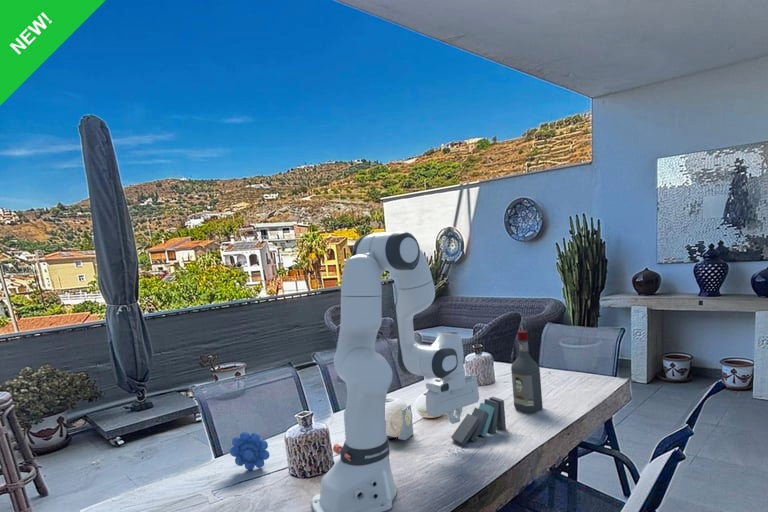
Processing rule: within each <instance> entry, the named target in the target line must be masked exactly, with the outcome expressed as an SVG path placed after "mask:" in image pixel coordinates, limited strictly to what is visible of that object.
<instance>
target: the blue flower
mask: <svg viewBox="0 0 768 512" xmlns="http://www.w3.org/2000/svg"><path fill="white" fill-rule="evenodd" d="M231 444H232V447H231V448H230V450H229V452H230V456H231V457H233V458H235V459H234V463H235V465H236V466H239V467H243V466H244V468H245V469H246V470H248V471H252V470H253V469H255V468H259V469H261V468H263V467H264V466H265V460H269V458H270V452H269V451H268V450H267V449H268V447H269V444H268V441H266V440H264V439H261V436H260V434H259V433H257V432H253V433H252V434H250V433H249V432H248V431H242V432H241V433H240V434H239V437H238V436H236V437H233V438H232V440H231Z"/></svg>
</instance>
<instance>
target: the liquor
mask: <svg viewBox="0 0 768 512" xmlns="http://www.w3.org/2000/svg"><path fill="white" fill-rule="evenodd" d="M528 334H529V333H528V331H527V330H518V331H517V341H518V357H517V358H516V359H515V360H514V361H513V362H512V363H511V366H510V369H511V382H512V396H513V406H514V408H515V410H516V411H517V412H521V413H525V414H536V413H537V412H540V411H542V409H543V407H544V406H543V394H542V384H541V383H542V381H541V380H542V379H541V370H540V369H541V368H540V366H539V364H538V363H537V362H536V361H535V360H534V359H533V358H532V357H531V355H530V353H529V352H530V351H529V341H528V340H529V337H528V336H529V335H528Z"/></svg>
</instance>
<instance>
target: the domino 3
mask: <svg viewBox="0 0 768 512" xmlns="http://www.w3.org/2000/svg"><path fill="white" fill-rule="evenodd" d="M478 409H481V410H483V411H486V412H487V413H488V414H489V415H488V417H487V419H486V421H485V423H484V425H483V427H482V429H481V431H480V433H479V435H480V436H482V437H485V438H486V437H487V434H488V432H489V431H488V428H489V425H490V422H491V419H492V415H493V412H494V409H495V408H494V407H492V406H489V405H487V404H484V402H480V403H479V407H478Z"/></svg>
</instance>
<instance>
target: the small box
mask: <svg viewBox="0 0 768 512" xmlns="http://www.w3.org/2000/svg"><path fill="white" fill-rule="evenodd" d="M406 404H407V403H406ZM407 408H408V410H409V409H410V411H411V415H412V404H407V407H406V408H404V409H402V410H401V411H402V415H403V424H402V431H401V434H400V435H399V436H398V440H403V441H407V440H408V439H409V438H410V437H411V436H412V435H414V426H413V425H414V424H413V418H412V419H411V424H410V426H409V427H408V426H407V425H406V421H405V415H406V410H407Z"/></svg>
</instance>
